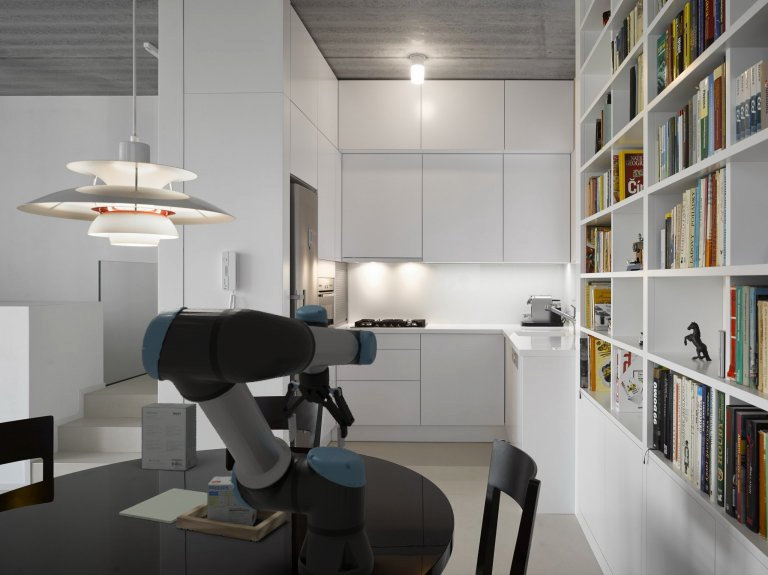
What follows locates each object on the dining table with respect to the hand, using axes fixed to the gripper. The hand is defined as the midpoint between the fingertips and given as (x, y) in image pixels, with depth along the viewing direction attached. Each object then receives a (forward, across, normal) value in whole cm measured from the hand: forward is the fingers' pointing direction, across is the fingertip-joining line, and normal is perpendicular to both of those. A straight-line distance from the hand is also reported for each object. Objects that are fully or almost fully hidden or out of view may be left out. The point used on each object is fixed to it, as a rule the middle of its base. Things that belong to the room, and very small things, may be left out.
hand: (316, 443), depth 148 cm
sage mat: (+17, +36, +14) cm, 42 cm away
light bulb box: (+14, +14, +19) cm, 27 cm away
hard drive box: (+28, +60, -12) cm, 67 cm away
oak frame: (+14, +14, +19) cm, 27 cm away
